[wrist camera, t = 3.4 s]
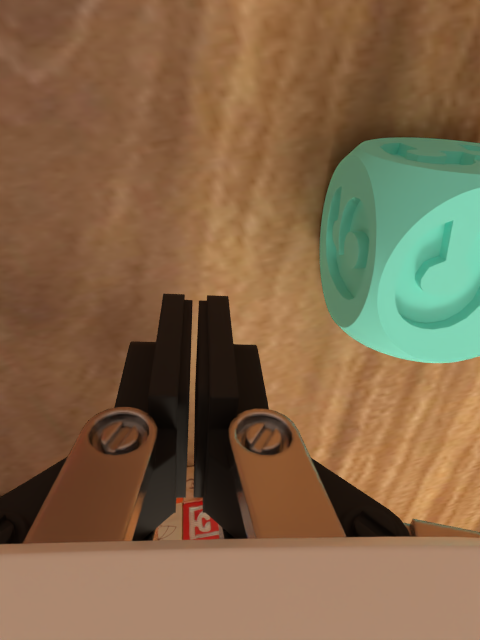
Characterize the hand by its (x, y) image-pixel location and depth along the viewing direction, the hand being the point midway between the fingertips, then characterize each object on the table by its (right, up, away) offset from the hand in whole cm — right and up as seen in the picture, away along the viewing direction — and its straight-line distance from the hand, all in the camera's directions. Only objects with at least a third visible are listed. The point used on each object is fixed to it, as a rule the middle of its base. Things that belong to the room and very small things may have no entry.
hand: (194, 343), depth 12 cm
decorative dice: (+10, +6, +12) cm, 17 cm away
